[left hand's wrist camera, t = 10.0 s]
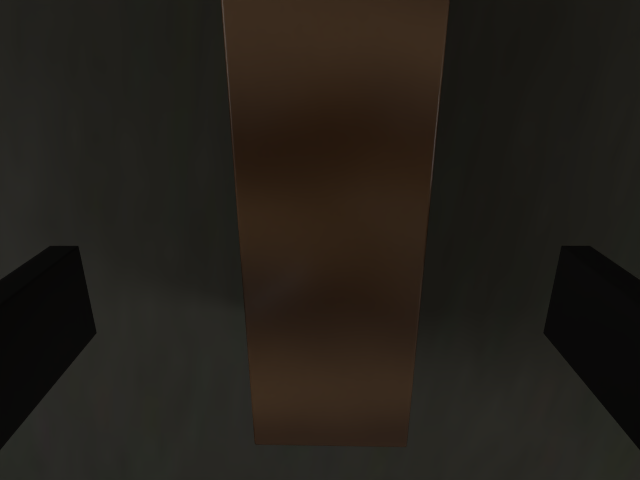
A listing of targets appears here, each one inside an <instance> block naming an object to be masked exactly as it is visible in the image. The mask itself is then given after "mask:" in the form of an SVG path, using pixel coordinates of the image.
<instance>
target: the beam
mask: <svg viewBox="0 0 640 480" xmlns="http://www.w3.org/2000/svg"><path fill="white" fill-rule="evenodd" d="M449 3H450V0H221V8H222V21H223V34H224V47H225V60H226V73H227V86H228V100H229V113H230V126H231V139H232V152H233V165H234V178H235V191H236V204H237V217H238V230H239V243H240V256H241V269H242V282H243V295H244V309H245V322H246V335H247V348H248V361H249V374H250V387H251V400H252V413H253V426H254V439H255V444H256V445H315V446H377V447H406V446H407V438H408V428H409V417H410V407H411V397H412V386H413V376H414V365H415V355H416V345H417V334H418V324H419V314H420V303H421V293H422V283H423V272H424V262H425V252H426V241H427V231H428V221H429V210H430V200H431V190H432V179H433V169H434V159H435V148H436V138H437V128H438V117H439V107H440V97H441V86H442V76H443V65H444V55H445V45H446V34H447V24H448V14H449Z"/></svg>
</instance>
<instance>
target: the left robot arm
mask: <svg viewBox="0 0 640 480" xmlns="http://www.w3.org/2000/svg"><path fill="white" fill-rule="evenodd" d="M95 334H96V328H95V323H94V319H93V314H92V309H91V304H90V299H89V295H88V290H87V285H86V280H85V276H84V271H83V266H82V261H81V256H80V252H79V247H78V246H49V247H48V248H46V249H45V250H44V251H42V252H41V253H39V254H38V255H36V256H35V257H33V258H32V259H30V260H29V261H27V262H26V263H24V264H23V265H22V266H20V267H19V268H17V269H16V270H14V271H13V272H11V273H10V274H8V275H7V276H5V277H4V278H2V279H1V280H0V449H1V448H2V447H3V446H4V445H5V443H6V442H7V441H8V440H9V439H10V437H11V436H12V435H13V434H14V432H15V431H16V430H17V429H18V428H19V426H20V425H21V424H22V423H23V422H24V420H25V419H26V418H27V417H28V415H29V414H30V413H31V412H32V411H33V409H34V408H35V407H36V406H37V405H38V403H39V402H40V401H41V400H42V399H43V397H44V396H45V395H46V394H47V392H48V391H49V390H50V389H51V388H52V386H53V385H54V384H55V383H56V382H57V380H58V379H59V378H60V377H61V375H62V374H63V373H64V372H65V371H66V369H67V368H68V367H69V366H70V365H71V363H72V362H73V361H74V360H75V358H76V357H77V356H78V355H79V354H80V352H81V351H82V350H83V349H84V348H85V346H86V345H87V344H88V343H89V341H90V340H91V339H92V338H93V337H94V335H95ZM544 334H545V335H546V337H547V338H548V339H549V340H550V341H551V343H552V344H553V345H554V346H555V348H556V349H557V350H558V351H559V352H560V354H561V355H562V356H563V357H564V358H565V360H566V361H567V362H568V363H569V365H570V366H571V367H572V368H573V369H574V371H575V372H576V373H577V374H578V375H579V377H580V378H581V379H582V380H583V382H584V383H585V384H586V385H587V386H588V388H589V389H590V390H591V391H592V392H593V394H594V395H595V396H596V397H597V399H598V400H599V401H600V402H601V403H602V405H603V406H604V407H605V408H606V409H607V411H608V412H609V413H610V414H611V415H612V417H613V418H614V419H615V420H616V422H617V423H618V424H619V425H620V426H621V428H622V429H623V430H624V431H625V432H626V434H627V435H628V436H629V437H630V439H631V440H632V441H633V442H634V443H635V445H636V446H637V447H638V448H639V449H640V280H639V279H638V278H636V277H635V276H633V275H632V274H630V273H629V272H627V271H626V270H624V269H623V268H621V267H620V266H618V265H617V264H616V263H614V262H613V261H611V260H610V259H608V258H607V257H605V256H604V255H602V254H601V253H599V252H598V251H596V250H595V249H594V248H592V247H591V246H562V247H561V252H560V256H559V261H558V266H557V271H556V275H555V280H554V285H553V290H552V295H551V299H550V304H549V309H548V314H547V319H546V323H545V328H544Z"/></svg>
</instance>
